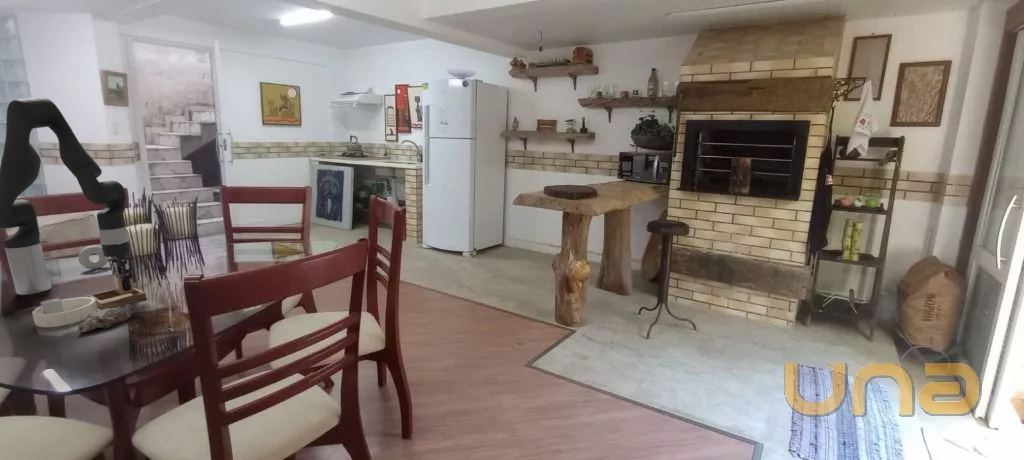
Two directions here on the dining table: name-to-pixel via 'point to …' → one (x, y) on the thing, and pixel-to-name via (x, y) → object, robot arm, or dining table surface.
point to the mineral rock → (106, 318)
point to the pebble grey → (52, 306)
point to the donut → (88, 263)
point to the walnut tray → (117, 298)
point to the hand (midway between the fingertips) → (124, 288)
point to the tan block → (119, 284)
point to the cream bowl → (66, 312)
